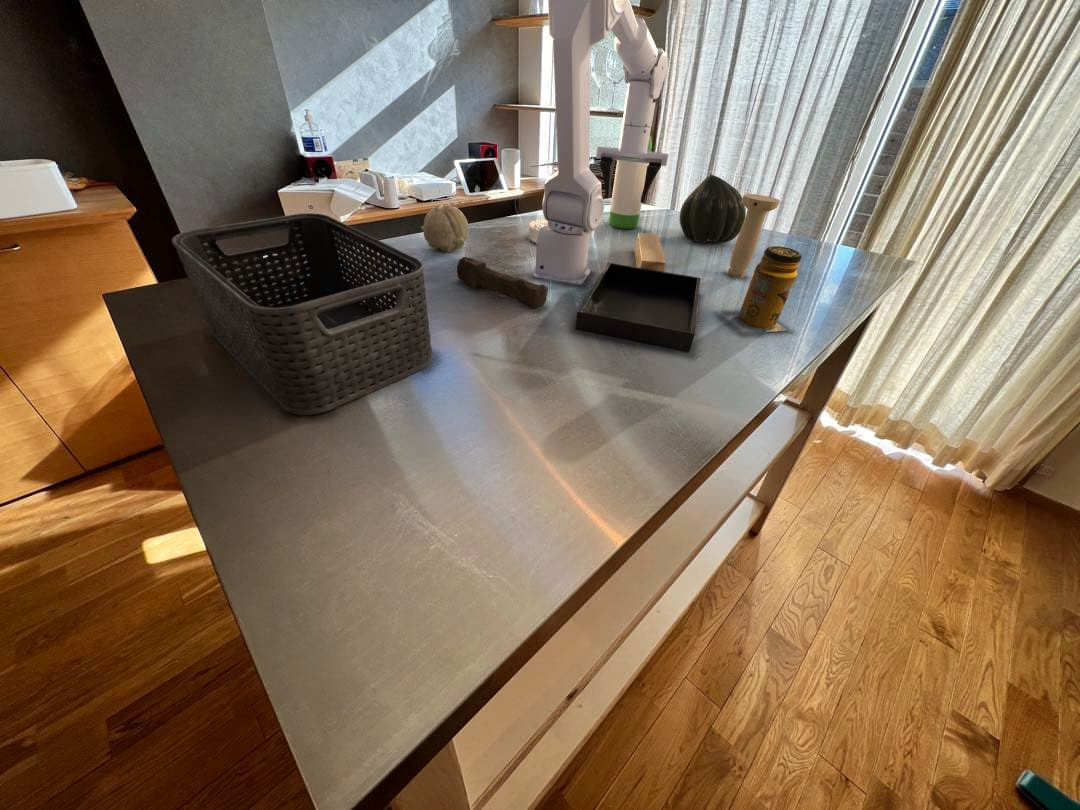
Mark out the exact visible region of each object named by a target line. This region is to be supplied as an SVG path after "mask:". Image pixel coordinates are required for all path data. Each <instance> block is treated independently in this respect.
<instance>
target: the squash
mask: <svg viewBox="0 0 1080 810" xmlns="http://www.w3.org/2000/svg"><path fill="white" fill-rule="evenodd" d="M742 199H743V196H742V195H741V194H740V191H739V190H737V189H736V188H735V187H734V186H733V185H731V184H730V183H729V182H727V181H726V180H724V179H722V178H721V177H720V176H717V175H714V174H709V176H707V177H706V178H705V179H703V180H702V181H701V183H700V184H699V185H698V186H697V187H696V188H695V189H694V190H692V192H691V193H690V194H689V195H688V196H687V197H686V199H685V200H684V202H683V203H682V205H681V207H680V211H679V226H680V228H681V231H682V233H683V235H684V237H686V239H688V240H689V241H692V242H693V241H695V242H696V243H697V244H705V243H707V242H708V241H709V242H711V243H715V242H716V243H719V244H725V243H728V242H730V241H732V240H734V239H735V238H737V237H738V236H739V233H740V230H741V228H742V225H743V222H744V220H745V217H746V214H747V211H746V206H744V205H743V203H742Z"/></svg>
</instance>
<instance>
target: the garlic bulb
mask: <svg viewBox="0 0 1080 810" xmlns="http://www.w3.org/2000/svg"><path fill="white" fill-rule="evenodd" d="M468 227H469V222H468V219H467V218H466V216H465V215H464V213H463V212H462V211H461V210H460V209H459V208H458V207H457V206H456V207H455V206H453V205H451V204H448V205H444V206H442V205H437V206H436V207H432V208H431V209H430V210H429V211H428V212H427V214H426V215H425V216H424V221H423V225H421V227H420V228H421V231H422V232H423V237H424V240H425V241H426V243H428V246H429V247H430V248H436V249H440V250H441V251H442V252H446V253H452V252H455V251H457V250H458V249H461V248H462V247H464V246H465V242H466V241H467V239H468Z"/></svg>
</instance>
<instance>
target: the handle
mask: <svg viewBox="0 0 1080 810" xmlns="http://www.w3.org/2000/svg"><path fill="white" fill-rule="evenodd" d="M780 201H781V200H780V199H779V198H775V197H773V196H768V195H762V194H755V193H745V194H743V196H742V203H743V205H744V206H745V209H747V210H746V216H745V220H744V222H743V225H742V228H741V230H740V233H739V234H738V235H737V237H736V238H737V239H736V241H735V243H734V246H733V250H732V252H731V257H730V261H729V268H728V270H727V274H728V276H730V277H731V278H737V279H742V278H743V277H745V275H746V273H747V270H748V268H749V267H750V265H751V262H752V259H753V257H754V255H755V252H756V249H757V246H758V242H759V238H760V235H761V231H762V228H763V224H764V221H765V218H766V216H767V214H768V212H770V211H774V210H776V209H777V208H778V206H779V205H780Z"/></svg>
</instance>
